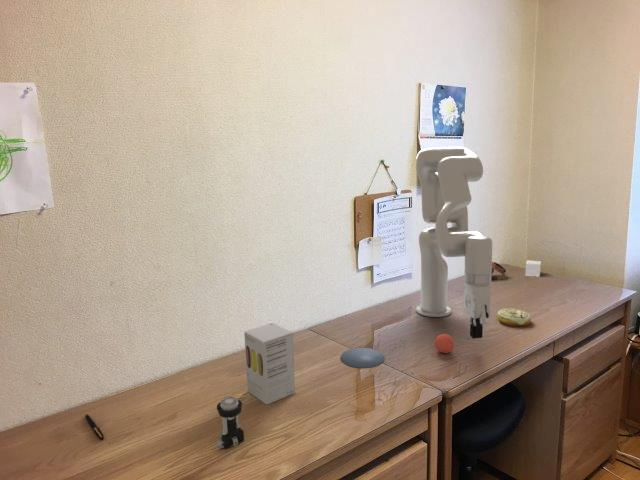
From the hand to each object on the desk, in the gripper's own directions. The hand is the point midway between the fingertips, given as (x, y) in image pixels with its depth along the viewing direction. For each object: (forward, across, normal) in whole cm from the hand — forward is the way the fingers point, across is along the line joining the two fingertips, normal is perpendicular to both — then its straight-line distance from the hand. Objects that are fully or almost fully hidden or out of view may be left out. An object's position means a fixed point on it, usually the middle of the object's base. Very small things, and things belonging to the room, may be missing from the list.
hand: (476, 337), depth 146 cm
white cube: (+3, -74, +58) cm, 94 cm away
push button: (+6, +36, -70) cm, 79 cm away
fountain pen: (+6, +25, -103) cm, 106 cm away
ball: (+2, -1, -10) cm, 10 cm away
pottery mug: (+3, -72, +38) cm, 82 cm away
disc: (+4, -1, -34) cm, 35 cm away
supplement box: (+5, +15, -62) cm, 64 cm away
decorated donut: (+4, -21, +22) cm, 31 cm away
